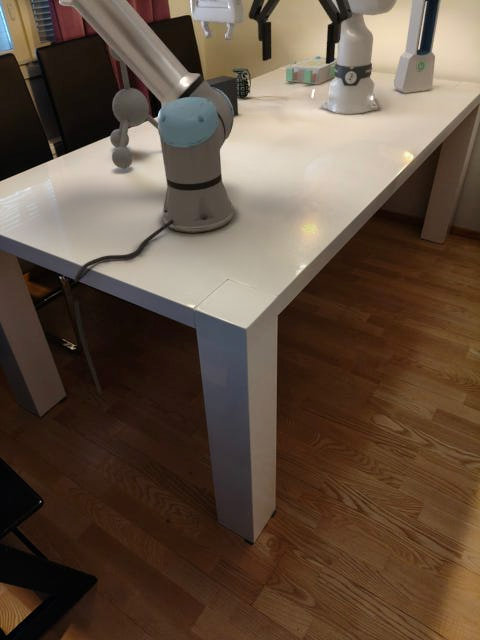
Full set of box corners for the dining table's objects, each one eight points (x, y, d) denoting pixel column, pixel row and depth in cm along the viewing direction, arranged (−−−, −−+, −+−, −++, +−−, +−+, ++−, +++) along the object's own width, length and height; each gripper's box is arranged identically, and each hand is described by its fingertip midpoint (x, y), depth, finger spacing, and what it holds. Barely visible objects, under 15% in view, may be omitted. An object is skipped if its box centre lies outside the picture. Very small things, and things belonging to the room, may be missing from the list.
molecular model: (194, 159, 136) (181, 36, 117) (116, 174, 130) (89, 47, 112) (172, 136, 153) (158, 26, 135) (102, 148, 148) (77, 35, 129)
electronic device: (402, 93, 181) (416, -3, 162) (392, 89, 186) (404, -5, 168) (432, 89, 183) (449, -6, 165) (421, 85, 189) (436, -8, 170)
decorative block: (308, 54, 216) (349, 57, 207) (307, 70, 220) (348, 74, 211) (277, 65, 200) (320, 69, 191) (277, 82, 204) (319, 87, 195)
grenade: (232, 99, 186) (230, 70, 180) (236, 95, 190) (234, 67, 184) (249, 99, 184) (248, 70, 178) (252, 96, 189) (251, 67, 182)
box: (187, 132, 157) (183, 92, 149) (174, 128, 160) (170, 89, 153) (238, 115, 169) (236, 77, 162) (225, 112, 173) (223, 75, 166)
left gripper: (377, -81, 82) (364, 60, 95) (247, -71, 92) (250, 54, 105) (364, -81, 77) (352, 67, 90) (227, -71, 87) (234, 61, 100)
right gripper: (247, -15, 142) (249, 39, 150) (200, -16, 154) (204, 34, 162) (231, -13, 138) (234, 42, 147) (185, -14, 150) (190, 38, 159)
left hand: (297, 61), depth 97 cm, fingers open, 13 cm apart
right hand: (218, 38), depth 155 cm, fingers open, 8 cm apart
